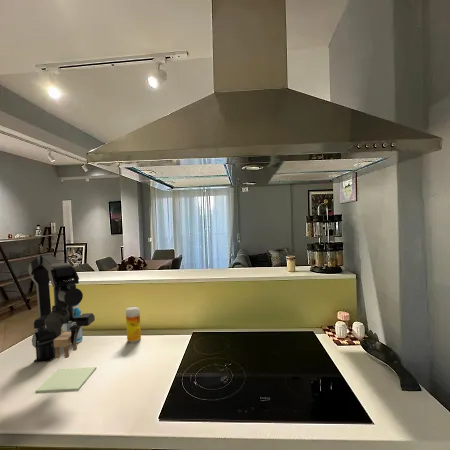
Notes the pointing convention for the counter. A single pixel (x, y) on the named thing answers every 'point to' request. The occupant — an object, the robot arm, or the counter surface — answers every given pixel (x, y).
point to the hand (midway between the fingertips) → (66, 344)
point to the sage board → (67, 379)
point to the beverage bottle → (66, 326)
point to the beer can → (133, 324)
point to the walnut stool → (64, 344)
